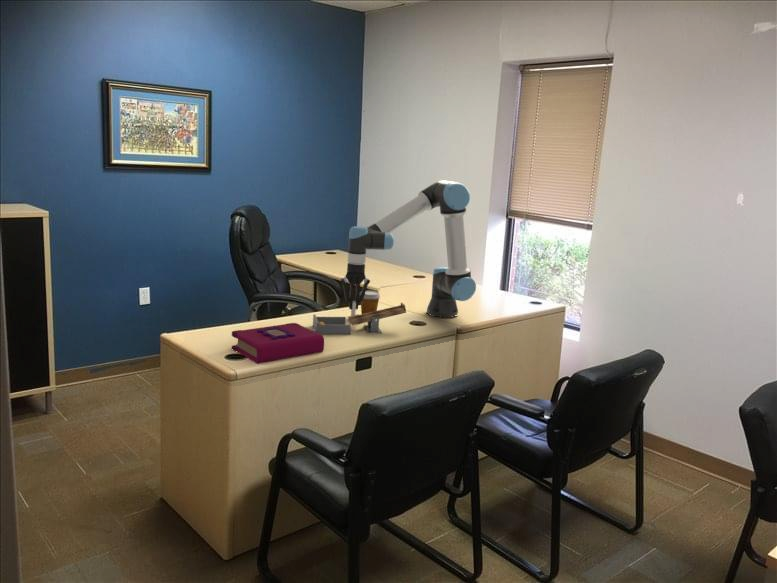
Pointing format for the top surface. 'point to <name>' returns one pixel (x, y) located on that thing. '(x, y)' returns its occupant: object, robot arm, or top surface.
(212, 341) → the top surface
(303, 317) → the top surface
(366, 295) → the disposable coffee cup
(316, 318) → the tray
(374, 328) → the fulcrum
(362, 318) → the lever
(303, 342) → the book
